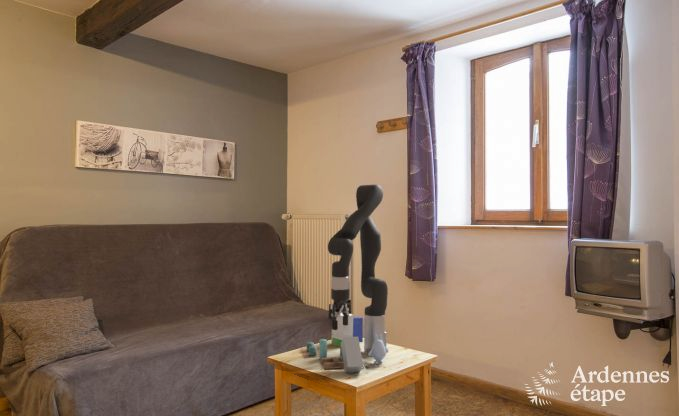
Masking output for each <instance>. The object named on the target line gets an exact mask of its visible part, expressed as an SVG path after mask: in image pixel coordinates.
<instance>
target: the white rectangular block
mask: <svg viewBox="0 0 679 416" xmlns="http://www.w3.org/2000/svg"><path fill="white" fill-rule="evenodd" d="M341 347H342V355H343V362H344V366H343V367H344V369H343V370H344V374H349V373H360V372H362V368H364V364H363V356H362V351H361V346H360V342H359V338H358V337H344V338H343V340H342V342H341Z"/></svg>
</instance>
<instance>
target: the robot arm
mask: <svg viewBox="0 0 679 416" xmlns="http://www.w3.org/2000/svg"><path fill="white" fill-rule="evenodd" d="M383 198H384V191H383V188H382V187H381V186H380V185H379V184H363V185H359V186H358V187H357V188H356V193H355V199H356V200H355V201H356V207H357V209H356V210H355V211H353V213H351V214H350V215H349V216H348V218H347V219H346V220H345V222H344V223H343V225H342V227H341V228H340V229H339V230H337V232H336V233H335V234H334V235H332V236H331V238H330V239H329V240H328V243H327V250H328V253H329V254H330V255H332V256H339V257H340V258H339V260H337V261H334V262H332V264H331V279H330V280H331V281H330V282H331V284H330V295H331V296H330V298H331V300H333V303H329V304H328V320H330V321H331V330H332V329H333V330H337V329H338V321H337V320H338V317H339V316H340V314H341V313H342V314H343V325H346V326H347V325H348V316H349V314H352V300H351V298H350V295H351V293H350V291H351V289H350V288H351V287H350V284H351V283H350V265H351V261H352V258H353V257H352V256H353V254H354V244H353V241H354V239H356V238H357V236H358V234H359V238H360V239H359V241H360V255H361V256H360V257H361V271H360V272H361V275H360V288H361V291H360V292H361V294H362V295H363V296H364V297H365V298H367V299H371V302H370V305H368V306H365V307H364V317H363V319H364V320H363V321H364V322H363V323H364V324H363V330H364V332H363V334H364V335H363V336H364V337H363V338H364V339H363V341H364V342H363V343H364V344H363V347H364V348H363V349H364V350H363V352H364V354H365V355H368V354H369V352H370V351H371V349H372V346H373V344H374V342H375V336H376V335H377V336H378V339H379V337H380V334H382V339H381V340H382V342H383V344H384V346H385V347H386V348H387V332H386V309H387V306H388V291H389V290H388V289H389V288H388V284H387V282H386V281H385V280H384V279H381V278H377V277H376V274H375V273H376V272H375V270H376V267H375V266H376V263H377V261H378V259H379V257H380V253H381V251H382V239H381V238H382V237H381V232H380V230H379V228H378V227H377V225H376V224H375V222H374V220H373V219H372V217H371V215H372V214H373V213H374V211H375V210H376V209H377V208H378V207H379V206H380V205H381V203H382V201H383ZM335 315H336V317H335Z"/></svg>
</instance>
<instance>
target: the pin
mask: <svg viewBox="0 0 679 416" xmlns="http://www.w3.org/2000/svg"><path fill="white" fill-rule="evenodd" d="M318 346H319V347H318V350H319V357H318V358H319V360H320V361H321V358H328V339H326V338H324V339H323V338H322V339H319V345H318Z"/></svg>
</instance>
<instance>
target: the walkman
mask: <svg viewBox="0 0 679 416" xmlns="http://www.w3.org/2000/svg"><path fill="white" fill-rule="evenodd" d="M363 319H364V317H363V316H360V315H358V316H353V337H358V338H359V343H364V342H363V341H364V339H363V338H364V337H363V336H364V335H363V334H364V332H363V330H364V324H363V323H364V322H363V321H364V320H363Z"/></svg>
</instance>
